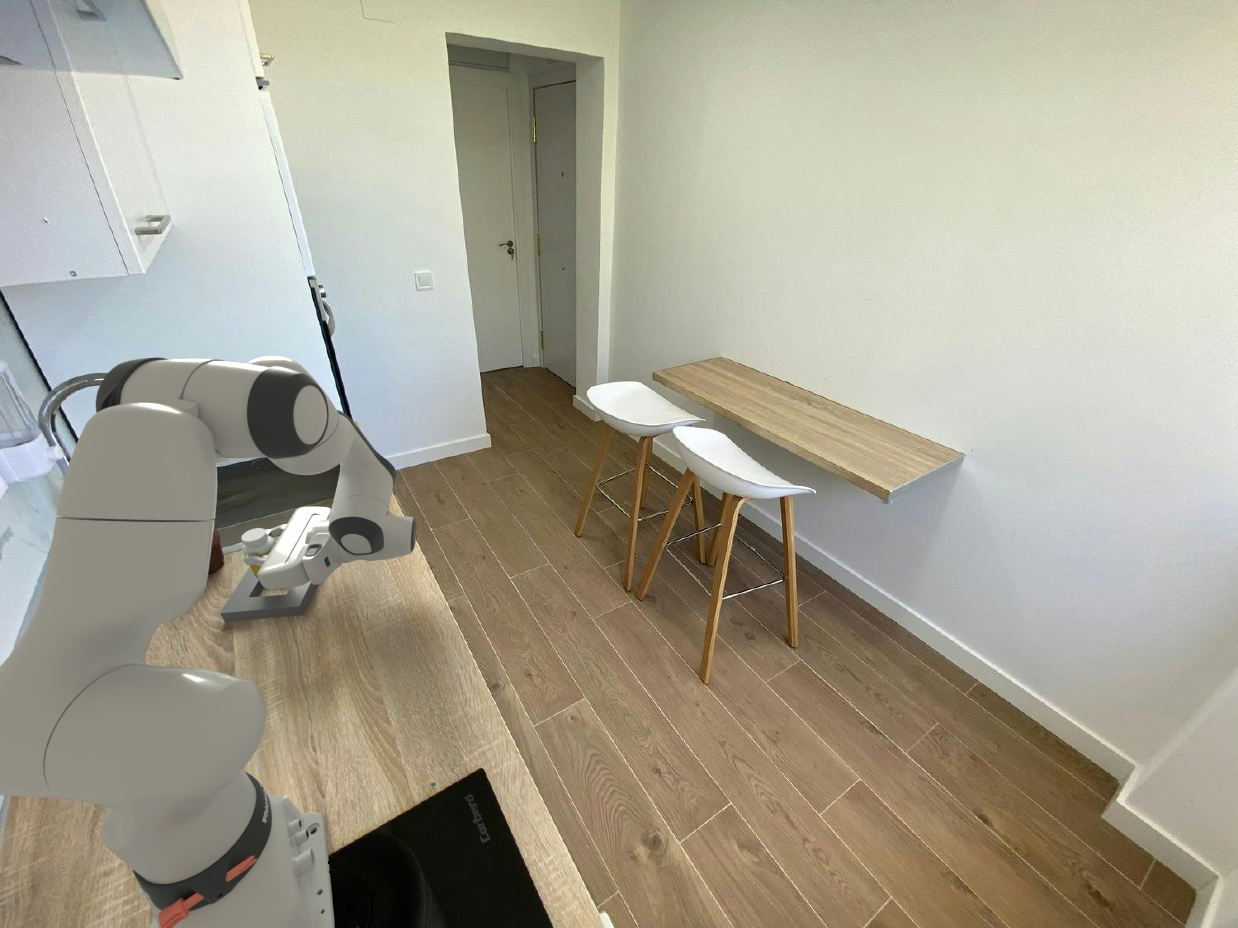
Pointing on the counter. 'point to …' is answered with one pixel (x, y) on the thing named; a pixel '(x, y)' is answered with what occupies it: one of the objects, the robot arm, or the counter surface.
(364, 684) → the counter surface
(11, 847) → the counter surface
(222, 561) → the muffin
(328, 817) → the counter surface
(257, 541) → the supplement bottle
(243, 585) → the frame
